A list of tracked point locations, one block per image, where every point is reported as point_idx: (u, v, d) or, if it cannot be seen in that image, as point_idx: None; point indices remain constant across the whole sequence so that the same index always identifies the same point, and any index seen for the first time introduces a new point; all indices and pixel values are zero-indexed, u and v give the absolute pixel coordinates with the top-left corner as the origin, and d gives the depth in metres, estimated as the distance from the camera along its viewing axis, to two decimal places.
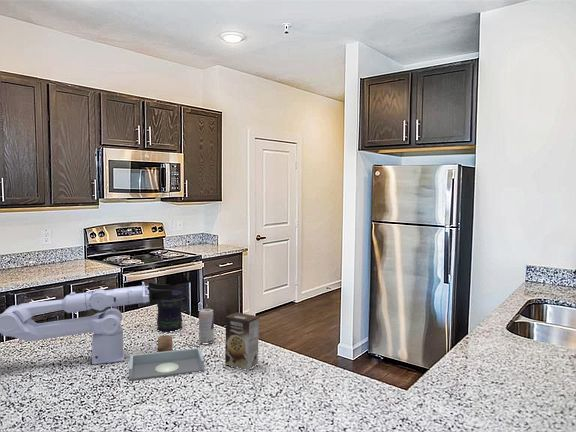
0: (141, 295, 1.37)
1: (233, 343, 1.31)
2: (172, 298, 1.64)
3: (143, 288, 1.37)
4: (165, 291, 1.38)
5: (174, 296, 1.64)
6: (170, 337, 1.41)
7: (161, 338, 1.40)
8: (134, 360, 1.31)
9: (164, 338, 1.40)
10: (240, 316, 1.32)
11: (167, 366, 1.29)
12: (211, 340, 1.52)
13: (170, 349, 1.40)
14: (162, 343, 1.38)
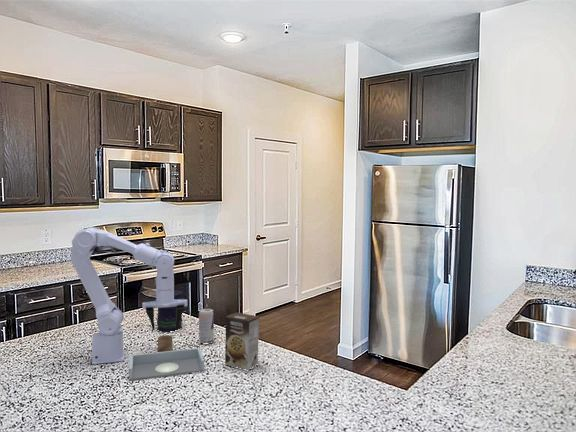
0: (156, 301, 1.39)
1: (233, 344, 1.31)
2: None
3: (158, 304, 1.37)
4: None
5: (174, 296, 1.64)
6: (170, 337, 1.41)
7: (161, 338, 1.40)
8: (134, 360, 1.31)
9: (164, 338, 1.40)
10: (240, 316, 1.32)
11: (167, 366, 1.29)
12: (211, 340, 1.52)
13: (170, 349, 1.40)
14: (162, 343, 1.38)
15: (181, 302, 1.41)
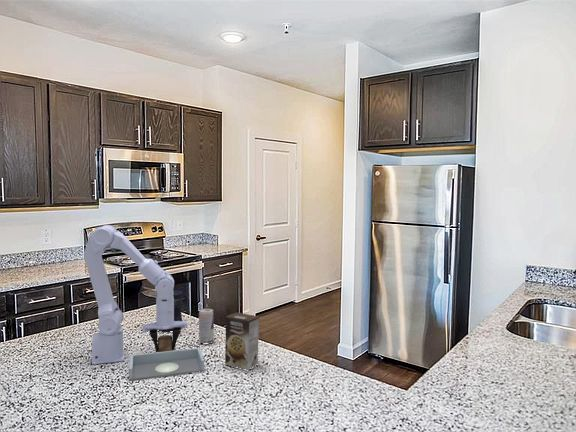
0: (156, 323, 1.39)
1: (233, 344, 1.31)
2: None
3: (158, 327, 1.37)
4: (155, 346, 1.39)
5: (174, 296, 1.64)
6: (170, 337, 1.41)
7: (161, 338, 1.40)
8: (134, 360, 1.31)
9: (164, 338, 1.40)
10: (240, 316, 1.32)
11: (167, 366, 1.29)
12: (211, 340, 1.52)
13: (170, 349, 1.40)
14: (162, 343, 1.38)
15: (181, 324, 1.41)
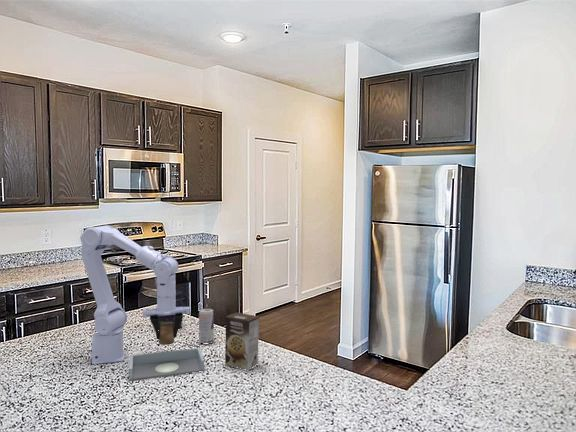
0: (157, 308, 1.32)
1: (233, 344, 1.31)
2: None
3: (159, 312, 1.30)
4: (156, 333, 1.32)
5: None
6: (172, 323, 1.34)
7: (162, 324, 1.33)
8: (134, 360, 1.31)
9: (165, 324, 1.33)
10: (240, 316, 1.32)
11: (167, 366, 1.29)
12: (211, 340, 1.52)
13: (172, 336, 1.33)
14: (164, 329, 1.31)
15: (183, 310, 1.34)
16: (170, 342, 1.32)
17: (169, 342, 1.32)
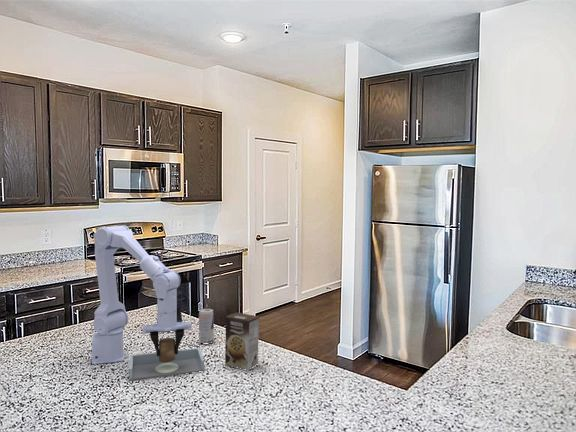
0: (157, 324, 1.27)
1: (233, 344, 1.31)
2: None
3: (159, 329, 1.25)
4: (156, 350, 1.26)
5: None
6: (172, 340, 1.29)
7: (163, 341, 1.28)
8: (134, 360, 1.31)
9: (166, 341, 1.28)
10: (240, 316, 1.32)
11: (167, 366, 1.29)
12: (211, 340, 1.52)
13: (173, 353, 1.28)
14: (164, 346, 1.26)
15: (184, 325, 1.28)
16: (171, 359, 1.27)
17: (170, 359, 1.27)
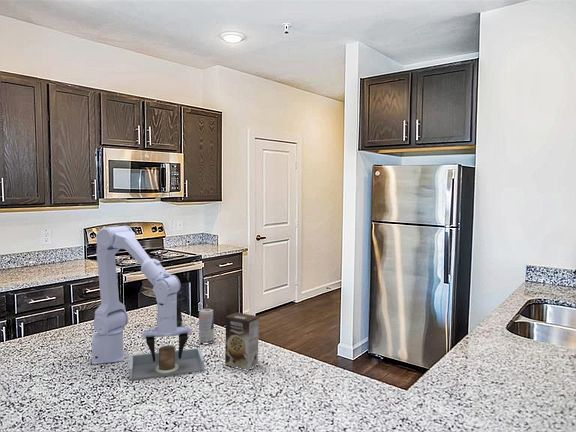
0: (157, 329, 1.27)
1: (233, 343, 1.31)
2: None
3: (159, 334, 1.25)
4: (152, 355, 1.26)
5: None
6: (172, 348, 1.29)
7: (163, 349, 1.28)
8: (134, 360, 1.31)
9: (166, 349, 1.28)
10: (240, 316, 1.32)
11: None
12: (211, 340, 1.52)
13: (172, 361, 1.28)
14: (164, 355, 1.26)
15: (184, 330, 1.29)
16: (170, 368, 1.27)
17: (169, 368, 1.27)
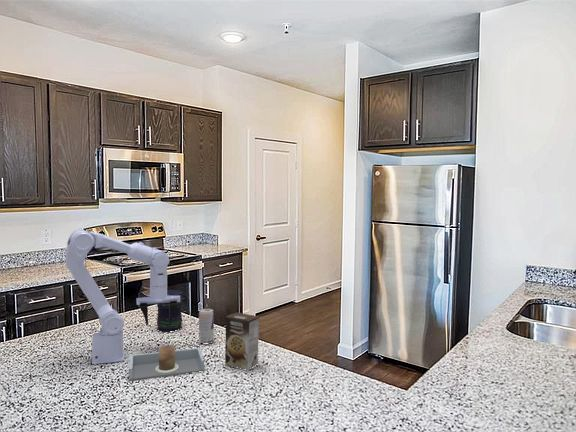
0: (150, 296, 1.43)
1: (233, 343, 1.31)
2: None
3: (151, 300, 1.42)
4: (145, 319, 1.43)
5: None
6: (172, 348, 1.29)
7: (163, 349, 1.28)
8: (134, 360, 1.31)
9: (166, 349, 1.28)
10: (240, 316, 1.32)
11: None
12: (211, 340, 1.52)
13: (172, 361, 1.28)
14: (164, 355, 1.26)
15: (174, 298, 1.45)
16: (170, 368, 1.27)
17: (169, 368, 1.27)
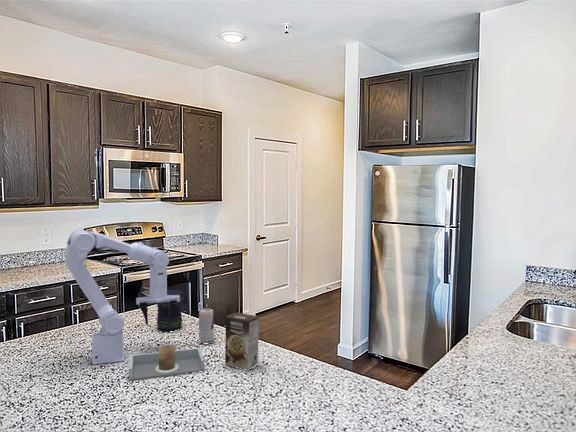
0: (149, 296, 1.44)
1: (233, 343, 1.31)
2: None
3: (151, 300, 1.42)
4: (145, 319, 1.43)
5: None
6: (172, 348, 1.29)
7: (163, 349, 1.28)
8: (134, 360, 1.31)
9: (166, 349, 1.28)
10: (240, 316, 1.32)
11: None
12: (211, 340, 1.52)
13: (172, 361, 1.28)
14: (164, 355, 1.26)
15: (174, 298, 1.46)
16: (170, 368, 1.27)
17: (169, 368, 1.27)
